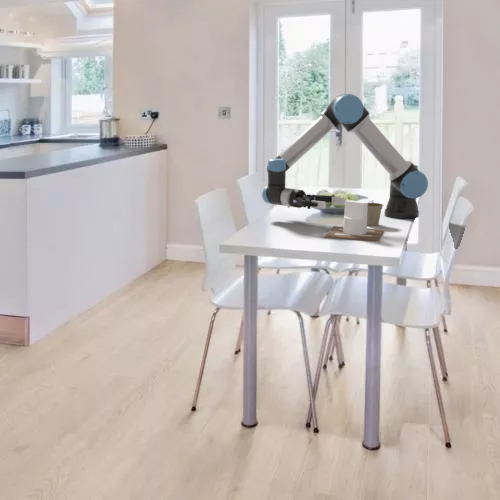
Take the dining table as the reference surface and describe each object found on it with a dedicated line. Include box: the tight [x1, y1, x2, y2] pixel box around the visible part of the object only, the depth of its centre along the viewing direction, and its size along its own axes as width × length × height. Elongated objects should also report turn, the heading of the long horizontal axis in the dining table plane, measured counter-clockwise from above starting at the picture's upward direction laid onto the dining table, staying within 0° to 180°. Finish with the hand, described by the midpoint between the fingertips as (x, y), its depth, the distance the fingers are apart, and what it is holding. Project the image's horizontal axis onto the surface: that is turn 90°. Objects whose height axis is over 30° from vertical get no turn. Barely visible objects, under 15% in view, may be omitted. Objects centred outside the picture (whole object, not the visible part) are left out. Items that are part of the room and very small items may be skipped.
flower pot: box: [367, 202, 384, 227], centre depth 264 cm, size 9×9×9 cm
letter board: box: [324, 225, 385, 242], centre depth 245 cm, size 20×20×1 cm
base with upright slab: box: [342, 199, 369, 235], centre depth 243 cm, size 9×9×12 cm
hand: (335, 203), depth 250 cm, fingers open, 13 cm apart
